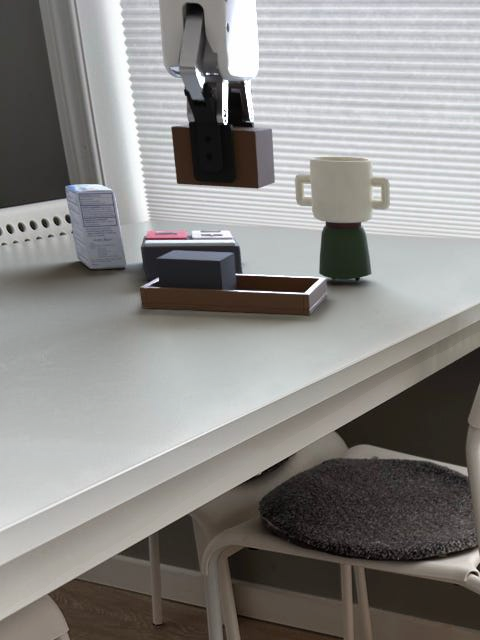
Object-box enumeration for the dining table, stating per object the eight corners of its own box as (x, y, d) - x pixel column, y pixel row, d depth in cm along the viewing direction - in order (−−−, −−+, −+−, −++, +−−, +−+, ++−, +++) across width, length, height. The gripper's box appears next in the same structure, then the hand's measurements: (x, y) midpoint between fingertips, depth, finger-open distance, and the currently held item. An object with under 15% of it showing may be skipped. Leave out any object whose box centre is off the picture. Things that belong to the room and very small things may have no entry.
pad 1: (176, 184, 74) (170, 126, 72) (198, 178, 79) (193, 123, 77) (258, 188, 74) (255, 131, 72) (275, 182, 79) (272, 128, 77)
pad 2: (161, 299, 98) (155, 258, 96) (178, 289, 103) (173, 250, 101) (223, 302, 98) (219, 260, 96) (237, 292, 102) (233, 252, 100)
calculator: (232, 228, 122) (239, 238, 109) (236, 264, 124) (243, 278, 111) (143, 228, 119) (139, 239, 106) (147, 265, 121) (144, 280, 108)
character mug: (395, 277, 116) (394, 158, 109) (385, 288, 110) (383, 162, 103) (307, 273, 116) (301, 154, 110) (293, 283, 110) (285, 158, 104)
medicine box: (127, 268, 115) (115, 190, 111) (89, 270, 113) (75, 190, 109) (113, 258, 121) (102, 183, 117) (76, 260, 119) (63, 184, 115)
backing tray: (141, 308, 96) (139, 287, 95) (172, 290, 105) (169, 271, 104) (310, 315, 96) (308, 294, 95) (327, 296, 104) (326, 277, 103)
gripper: (190, -87, 75) (212, 168, 84) (105, -130, 60) (143, 185, 69) (284, -82, 75) (295, 173, 84) (222, -124, 60) (244, 191, 69)
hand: (226, 176), depth 77 cm, fingers closed on pad 1, 5 cm apart
